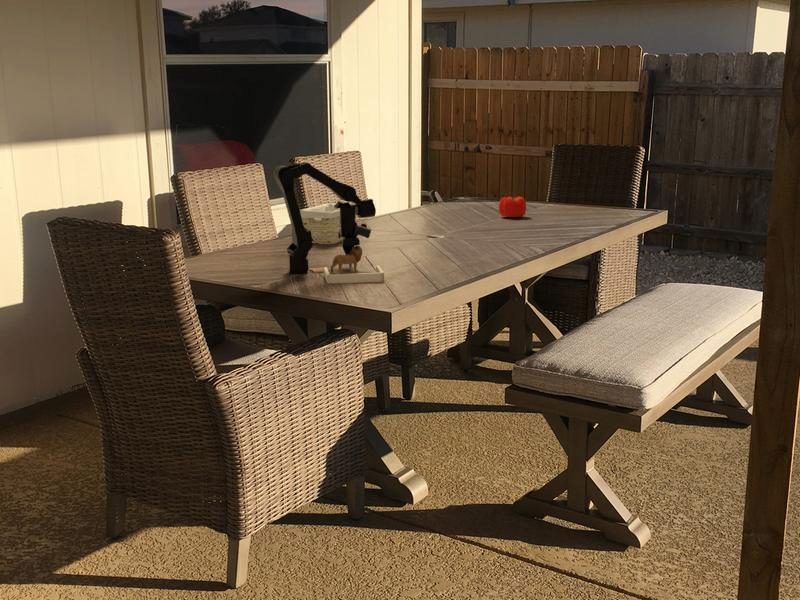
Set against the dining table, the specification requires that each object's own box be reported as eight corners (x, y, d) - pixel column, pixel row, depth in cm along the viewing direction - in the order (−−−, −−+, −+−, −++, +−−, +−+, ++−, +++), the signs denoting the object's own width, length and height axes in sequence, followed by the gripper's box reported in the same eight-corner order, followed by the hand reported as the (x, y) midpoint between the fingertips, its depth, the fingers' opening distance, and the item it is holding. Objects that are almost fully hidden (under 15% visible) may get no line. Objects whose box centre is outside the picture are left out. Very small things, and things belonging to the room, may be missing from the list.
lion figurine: (356, 267, 363) (356, 243, 360) (365, 270, 359) (366, 246, 357) (325, 273, 353) (326, 249, 350) (335, 276, 349) (335, 251, 347)
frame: (327, 283, 336) (326, 275, 336) (324, 275, 350) (323, 267, 349) (384, 281, 339) (384, 273, 338) (378, 273, 353) (378, 265, 352)
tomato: (526, 215, 491) (526, 195, 489) (525, 219, 479) (526, 198, 476) (499, 215, 493) (499, 195, 491) (498, 219, 480) (498, 198, 478)
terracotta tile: (314, 274, 354) (314, 271, 354) (309, 271, 360) (309, 268, 360) (330, 273, 357) (329, 269, 357) (324, 270, 362) (324, 266, 362)
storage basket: (331, 246, 410) (330, 211, 407) (299, 243, 417) (298, 209, 414) (359, 237, 431) (358, 204, 428) (327, 235, 438) (327, 202, 435)
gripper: (372, 222, 352) (374, 264, 355) (365, 214, 369) (367, 254, 373) (342, 223, 350) (343, 265, 354) (336, 215, 368) (338, 255, 372)
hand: (349, 260), depth 363 cm, fingers closed
